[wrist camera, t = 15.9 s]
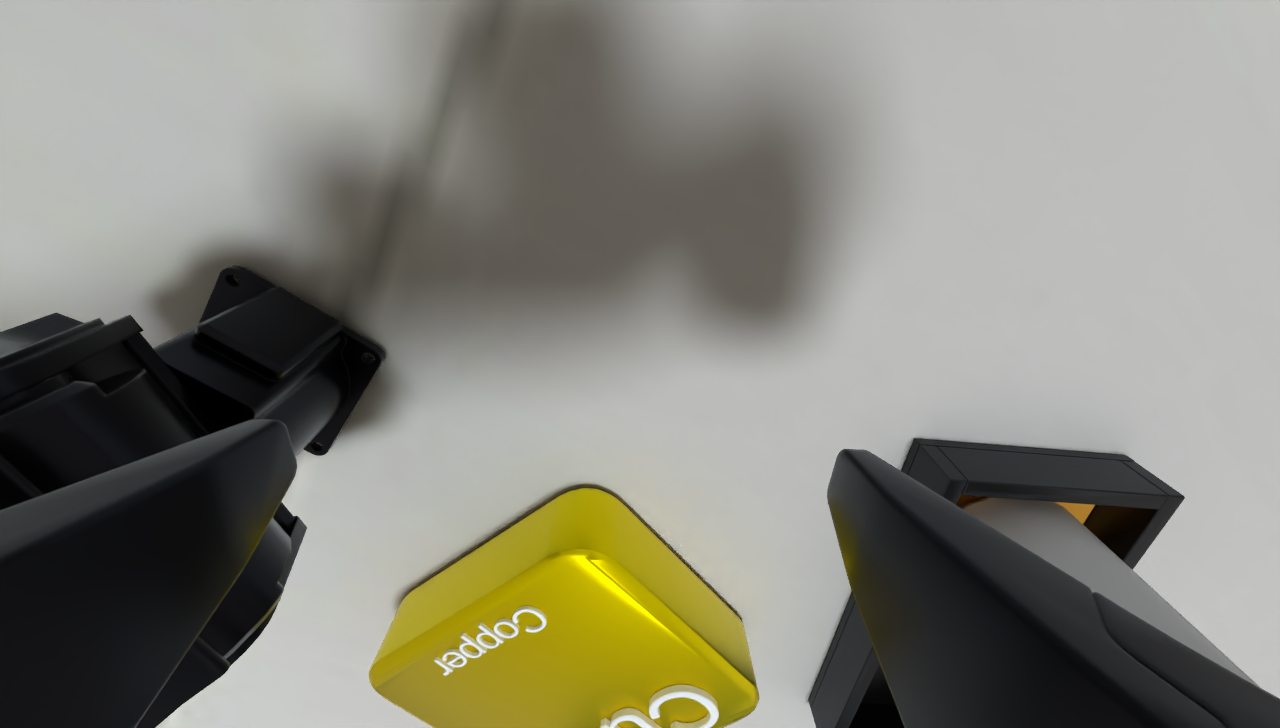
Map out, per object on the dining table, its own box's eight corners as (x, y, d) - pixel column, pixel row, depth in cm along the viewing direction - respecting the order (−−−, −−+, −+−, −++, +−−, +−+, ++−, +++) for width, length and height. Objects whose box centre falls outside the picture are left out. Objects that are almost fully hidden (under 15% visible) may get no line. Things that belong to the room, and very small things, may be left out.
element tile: (593, 469, 25) (585, 545, 20) (757, 631, 30) (779, 719, 26) (385, 604, 29) (341, 691, 24) (564, 726, 34) (554, 815, 30)
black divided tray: (1126, 455, 25) (1186, 497, 22) (965, 708, 34) (994, 760, 31) (914, 438, 24) (950, 479, 21) (808, 700, 33) (823, 752, 30)
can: (1091, 530, 26) (1416, 828, 15) (966, 610, 28) (1169, 914, 18) (1005, 455, 24) (1315, 741, 13) (878, 549, 26) (1049, 853, 16)
